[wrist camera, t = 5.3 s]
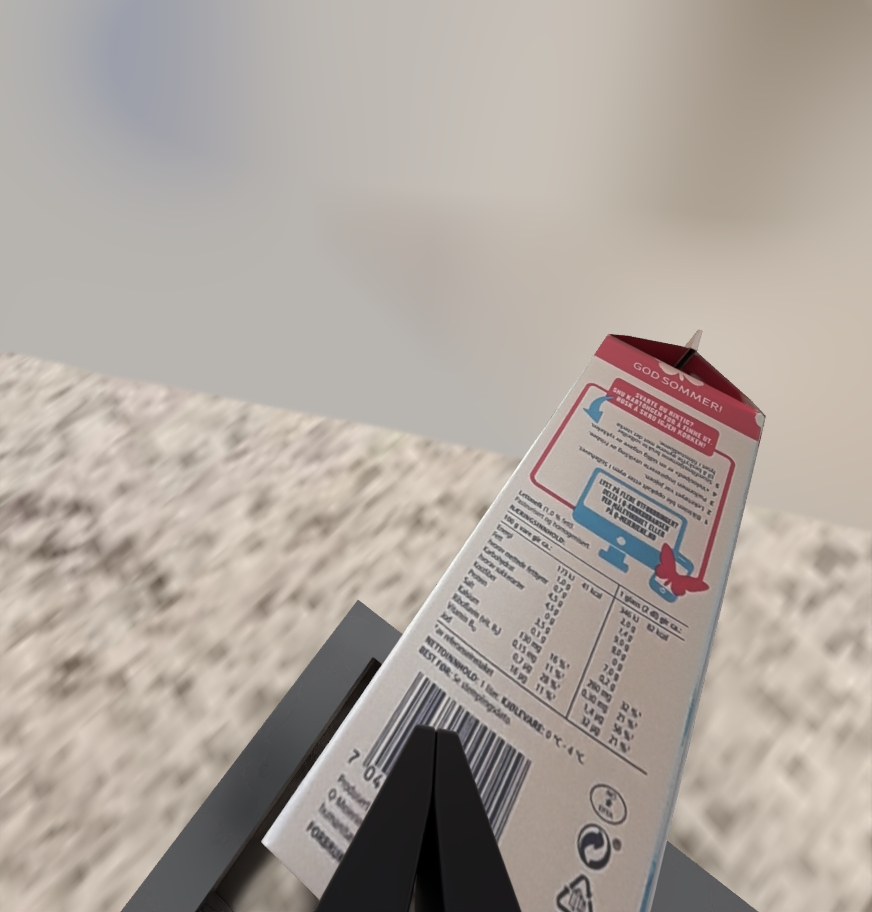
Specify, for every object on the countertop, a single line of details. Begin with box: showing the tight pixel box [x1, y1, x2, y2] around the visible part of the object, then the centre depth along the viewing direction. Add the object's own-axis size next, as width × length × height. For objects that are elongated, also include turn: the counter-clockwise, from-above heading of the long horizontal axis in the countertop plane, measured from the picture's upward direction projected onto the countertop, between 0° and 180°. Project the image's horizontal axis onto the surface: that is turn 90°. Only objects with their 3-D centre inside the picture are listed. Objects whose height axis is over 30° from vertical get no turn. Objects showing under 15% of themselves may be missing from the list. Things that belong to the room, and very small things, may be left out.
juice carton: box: [261, 330, 766, 912], centre depth 15 cm, size 7×7×22 cm
